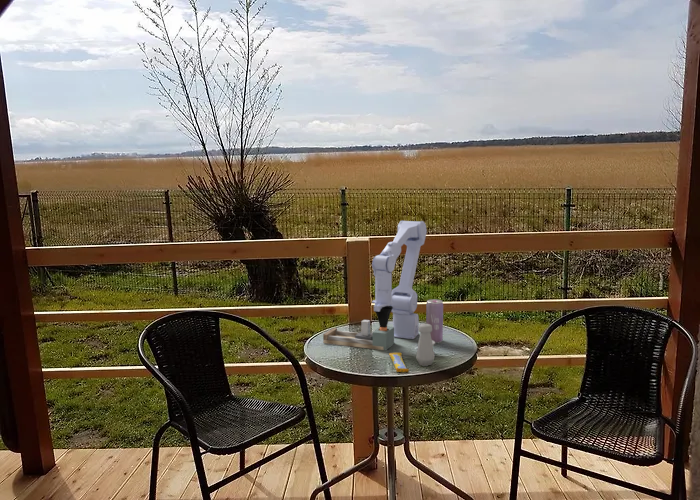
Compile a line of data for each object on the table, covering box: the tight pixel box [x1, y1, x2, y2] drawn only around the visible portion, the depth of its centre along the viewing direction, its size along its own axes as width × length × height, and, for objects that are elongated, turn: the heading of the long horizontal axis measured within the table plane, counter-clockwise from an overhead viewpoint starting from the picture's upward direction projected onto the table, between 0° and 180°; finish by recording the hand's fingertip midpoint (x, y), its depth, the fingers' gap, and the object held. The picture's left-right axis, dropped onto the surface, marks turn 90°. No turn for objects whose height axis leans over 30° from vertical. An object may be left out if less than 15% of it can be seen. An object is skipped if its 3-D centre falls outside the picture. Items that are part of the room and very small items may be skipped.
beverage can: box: [425, 298, 444, 344], centre depth 190 cm, size 6×6×15 cm
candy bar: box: [388, 352, 410, 373], centre depth 167 cm, size 17×4×2 cm, turn 3°
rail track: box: [322, 327, 384, 351], centre depth 189 cm, size 23×9×3 cm, turn 68°
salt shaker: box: [415, 323, 435, 367], centre depth 166 cm, size 6×6×13 cm
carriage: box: [355, 319, 373, 340], centre depth 188 cm, size 6×5×7 cm
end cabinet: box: [372, 325, 395, 351], centre depth 185 cm, size 5×9×6 cm, turn 157°
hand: (383, 327), depth 185 cm, fingers closed, pressing on reset button
